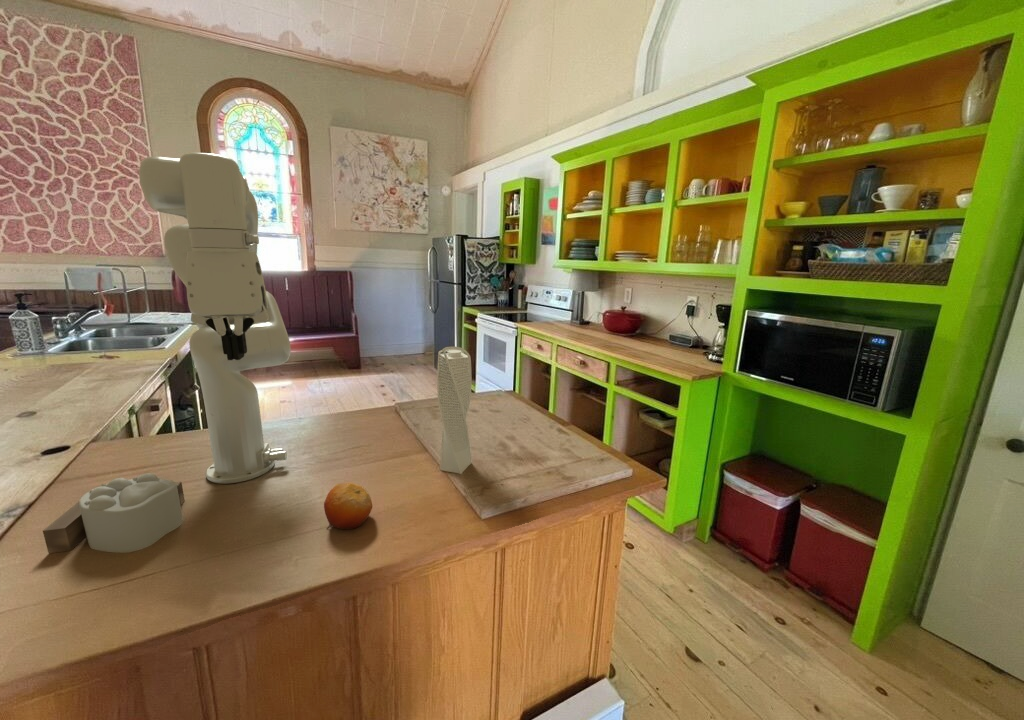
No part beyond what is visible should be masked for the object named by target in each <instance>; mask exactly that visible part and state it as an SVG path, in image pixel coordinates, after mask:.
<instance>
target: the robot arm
mask: <svg viewBox="0 0 1024 720" xmlns="http://www.w3.org/2000/svg"><path fill="white" fill-rule="evenodd" d="M138 176H139V177H138V178H139V182H140V187H141V190H142V193H143V196H144V198H145V200H146V203H148V205H149V207H150V208H152V210H154V211H156V212H159V213H163V214H168V215H175V216H178V217H182V218H184V219H185V220H186V221H187V223H184V224H178V225H174V226H172V227H169V228H168V229H167V230H166V231H165V233H164V238H163V240H164V241H163V242H164V243H163V244H164V248H165V252H166V255H167V259H168V261H169V263H170V266H171V267H172V269H173V271H174V273H175V274H176V275H177V277H178V279H180V281H181V282H182V284H184V286H185V288H186V296H187V297H186V299H187V305H188V309H189V312H190V313H191V316H190V321H191V322H192V323H193V324H195V325H196V327H197V328H198V329H197V330H195V331H194V332H193V333H192V334H191V336H190V338H189V351H190V354H191V357H192V358H191V359H192V360H193V363H194V367H195V369H196V371H197V375H198V379H199V382H200V383H199V384H200V388H201V392H202V398H203V403H204V404H203V405H204V410H205V415H206V416H205V417H206V422H207V429H208V434H209V435H208V436H209V442H210V448H211V454H212V461H213V463H212V464H211V465H210V466H209V467H208V468H207V469H206V471H205V476H206V478H207V480H208V481H210V482H212V483H215V484H235V483H242V482H246V481H249V480H253V479H255V478H258V477H260V476H263V475H264V474H266V473H268V472H269V471H271V469H272V468H273V467H274V465H275V463H276V462H275V461H286V460H287V458H288V452H287V450H284V448H283V447H280V448H270V446H269V442H265V440H264V434H263V433H264V432H263V424H262V418H261V417H262V416H261V409H260V408H261V407H260V400H259V399H260V398H259V394H258V389H257V387H256V385H255V384H254V383H253V381H251V380H250V379H249V378H248V377H246V376H245V375H243V374H242V373H241V372H242V371H247V370H252V369H259V368H260V369H261V368H267V367H269V368H270V367H274V366H275V367H276V366H280V365H283V364H285V363H286V362H287V361H289V358H290V356H291V353H292V351H291V350H292V349H291V346H292V345H291V341H290V338H289V334H288V332H287V331H288V330H287V329H286V326H285V323H284V320H283V316H282V314H281V311H280V308H279V305H278V302H277V301H276V298H275V297H274V296H273V294H272V293H271V292H269V291H268V290H266V286H265V280H264V275H263V272H262V267H261V263H260V260H259V257H258V255H257V253H258V245H259V244H260V238H259V236H258V235H259V234H258V231H259V211H258V209H259V208H258V204H257V201H256V198H255V196H254V194H253V193H252V191H250V188H249V183H248V180H247V178H246V177H245V176H244V175H243V174H242V172H241V170H240V167H239V165H238V163H237V162H236V161H235V160H234V159H233V158H231V157H227V156H226V155H225V156H224V155H221V154H216V153H207V152H189V153H184V154H183V155H182V156H181V157H179V158H175V157H164V156H147V157H145V158H143V160H142V161H141V163H140V164H139V172H138Z"/></svg>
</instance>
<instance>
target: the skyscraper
mask: <svg viewBox="0 0 1024 720" xmlns="http://www.w3.org/2000/svg"><path fill="white" fill-rule="evenodd" d="M436 373H437V375H436V377H437V378H436V381H437V382H436V383H437V384H436V385H437V386H436V387H437V388H436V389H437V390H436V391H437V401H438V408H439V414H440V420H441V423H442V433H441V434H442V435H441V447H440V448H441V449H440V461H439V471H445V472H449V473H450V472H451V473H453V474H454V473H455V474H459V475H463V472H464V471H466V469H467V468H468V467H469V466H470V465H471V464H472V463H473V461H472V452H471V442H470V437H469V436H470V435H469V430H468V429H469V428H468V423H467V417H468V412H469V410H470V403H471V397H472V396H471V395H472V382H473V379H472V378H473V377H472V375H473V374H472V360H471V355H470V353H469V352H468V351H467V350H466V349H465V348H463V347H461V346H446V347H444V348H442V349H441V350H439V351H438V352H437V370H436Z"/></svg>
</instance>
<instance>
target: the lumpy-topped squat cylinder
mask: <svg viewBox="0 0 1024 720" xmlns="http://www.w3.org/2000/svg"><path fill="white" fill-rule="evenodd" d="M175 482H176V481H174V480H170V479H165V478H159V477H158V476H157V475H156V474H154V473H151V472H147V473H143V474H141V475H139V476H137V477H136V476H135V477H133V478H130V479H127V478H124V477H117V478H114V479H112V480H110V481H109V482H108V483H106V484H105V483H104V484H101V485H100V486H97V487H94V488H92V489H90V490H89V491H87V492H86V493H84V494H83V495H82V496H81V498H80V499H79V500H78V502H79V507H80V511H81V515H82V519H83V523H84V527H85V532H86V539H87V543H88V546H89V548H91V549H92V550H96V551H100V552H107V553H118V554H120V553H121V554H122V553H123V554H124V553H131V552H138V551H140V550H143V549H146V548H149V547H150V546H152V545H153V544H155V543H157V542H158V541H159V540H161V538H162V537H165V535H167V534H169V533H170V532H172V531H174V530H176V529H178V528H179V527H180V526H182V524H183V523H184V517H183V512H182V507H181V506H182V505H180V500H179V495H178V489H177V485H176V483H175Z"/></svg>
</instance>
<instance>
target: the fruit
mask: <svg viewBox="0 0 1024 720" xmlns="http://www.w3.org/2000/svg"><path fill="white" fill-rule="evenodd" d="M325 497H326V498H325V501H324V502H323V510H324V514H325V517H326V519H327V522H328V526H327V527H326V530H328V529H330V528H331V527H334V528H337V529H341V530H347V529H348V530H349V529H351V530H353V529H357V528H359V527H361V525H363V523H365V521H366V520H367V518H368V517H369V516H370V515H371V512H372V510H373V501H372V498H371V495H370V493H369V492H368V491H367V489H366V488H365V487H363V486H362V485H360V484H356V483H354V482H344V483H343V482H342V483H338V484H335V486H333V488H331V489H330V490H329V492H328V493H327V495H326V496H325Z"/></svg>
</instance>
